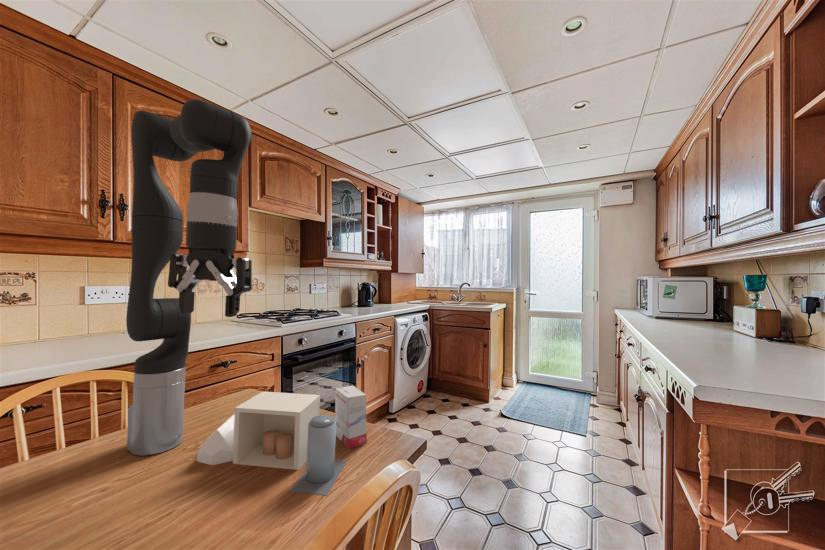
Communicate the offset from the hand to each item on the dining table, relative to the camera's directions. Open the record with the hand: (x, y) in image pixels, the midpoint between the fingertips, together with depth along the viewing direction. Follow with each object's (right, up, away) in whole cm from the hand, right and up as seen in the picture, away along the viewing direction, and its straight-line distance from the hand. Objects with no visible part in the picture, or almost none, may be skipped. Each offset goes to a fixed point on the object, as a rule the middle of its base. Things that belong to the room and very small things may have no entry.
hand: (208, 314), depth 57 cm
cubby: (+7, -32, +13) cm, 35 cm away
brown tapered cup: (+5, -32, +13) cm, 35 cm away
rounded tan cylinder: (+9, -32, +12) cm, 35 cm away
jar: (+18, -32, +5) cm, 37 cm away
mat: (+18, -32, +5) cm, 37 cm away
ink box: (+21, -33, +20) cm, 44 cm away
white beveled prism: (-5, -33, +19) cm, 38 cm away
